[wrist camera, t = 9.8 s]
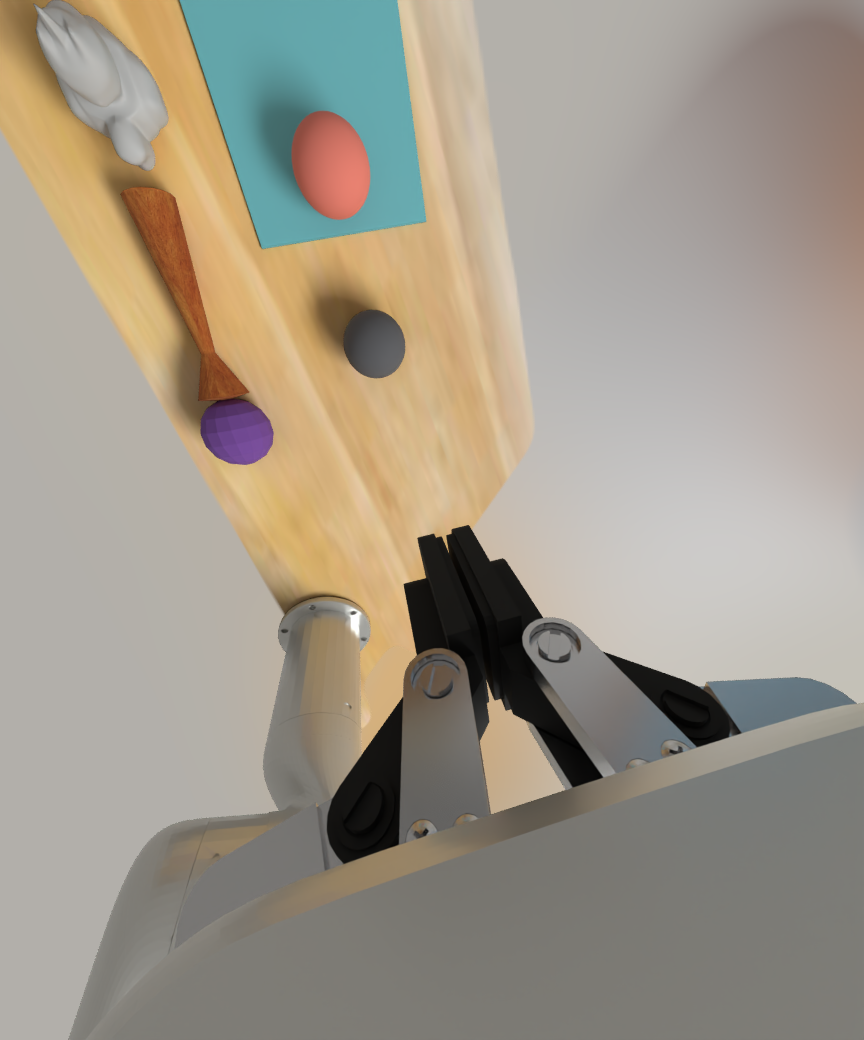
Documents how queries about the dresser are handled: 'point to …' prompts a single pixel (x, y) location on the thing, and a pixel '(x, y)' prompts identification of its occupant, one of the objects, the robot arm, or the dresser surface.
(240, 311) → the dresser surface
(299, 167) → the red ball
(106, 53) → the gray statuette
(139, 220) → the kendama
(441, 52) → the dresser surface
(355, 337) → the dark gray ball
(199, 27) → the teal mark
